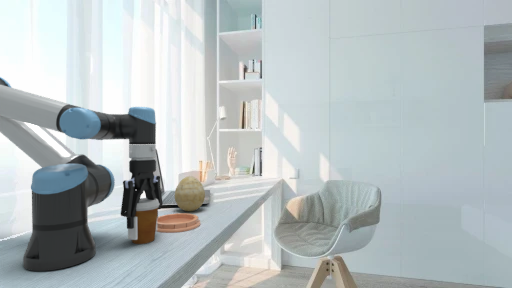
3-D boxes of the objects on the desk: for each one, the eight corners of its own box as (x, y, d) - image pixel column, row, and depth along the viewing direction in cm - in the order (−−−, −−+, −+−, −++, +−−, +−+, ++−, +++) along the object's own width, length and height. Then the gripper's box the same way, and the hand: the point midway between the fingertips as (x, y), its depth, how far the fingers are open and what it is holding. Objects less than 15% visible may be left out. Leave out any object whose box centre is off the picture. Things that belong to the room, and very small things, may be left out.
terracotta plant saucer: (154, 235, 94) (154, 227, 94) (147, 222, 109) (147, 216, 109) (206, 228, 101) (206, 221, 101) (193, 217, 116) (193, 211, 116)
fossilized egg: (195, 215, 119) (195, 178, 119) (168, 213, 123) (168, 177, 123) (210, 208, 132) (209, 175, 131) (185, 207, 135) (184, 174, 135)
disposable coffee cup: (149, 247, 83) (148, 204, 83) (119, 245, 85) (118, 203, 85) (165, 236, 93) (165, 198, 93) (138, 234, 95) (138, 197, 95)
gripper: (127, 161, 78) (128, 247, 78) (173, 157, 98) (174, 226, 98) (104, 161, 80) (105, 244, 80) (154, 157, 100) (155, 224, 100)
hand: (143, 234), depth 89 cm, fingers closed on disposable coffee cup, 8 cm apart
